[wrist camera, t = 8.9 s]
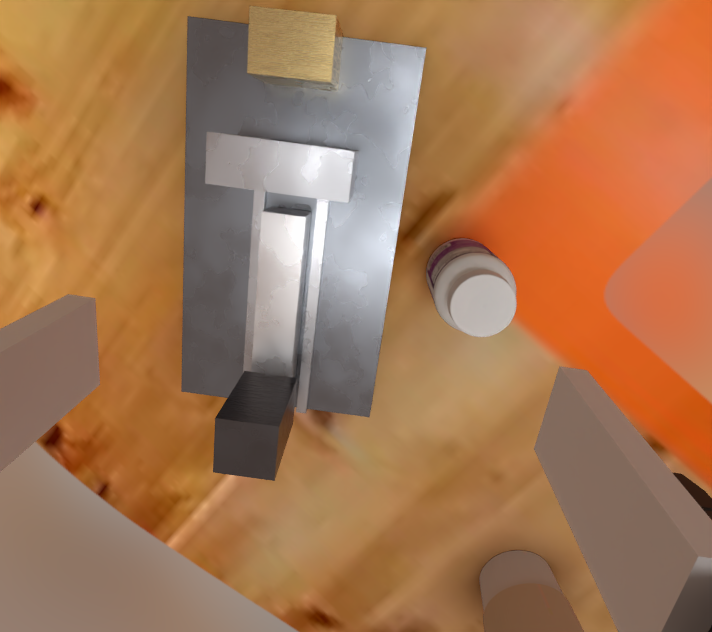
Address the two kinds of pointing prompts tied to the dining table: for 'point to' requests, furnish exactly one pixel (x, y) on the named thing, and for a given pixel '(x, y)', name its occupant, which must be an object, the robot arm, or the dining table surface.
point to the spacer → (294, 48)
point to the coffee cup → (524, 596)
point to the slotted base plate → (298, 192)
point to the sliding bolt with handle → (268, 354)
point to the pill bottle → (471, 287)
